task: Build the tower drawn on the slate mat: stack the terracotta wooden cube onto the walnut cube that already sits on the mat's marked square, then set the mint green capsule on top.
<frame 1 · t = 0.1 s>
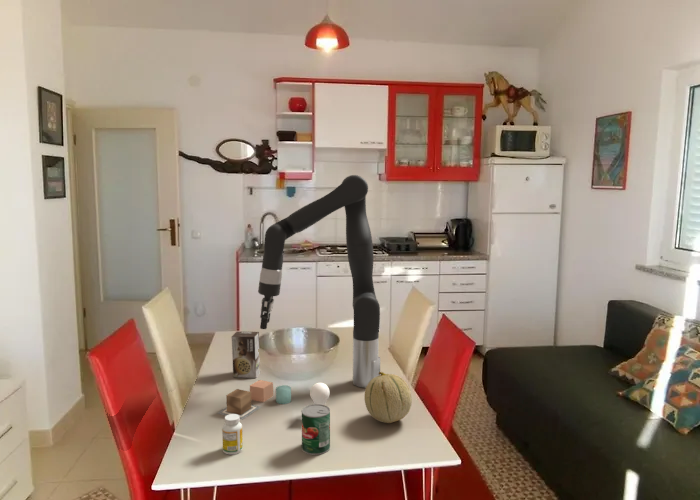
hand: (264, 325, 185), 22 cm above the table, tool pointing down, fingers open, 8 cm apart
lightbulb: (320, 417, 164), on the table
cantaloupe: (387, 420, 161), on the table
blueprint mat: (239, 411, 167), on the table
canned tomato: (316, 448, 145), on the table
supplement bottle: (232, 450, 144), on the table
mint green capsule: (283, 402, 174), on the table
walnut block: (239, 409, 167), point 1 cm above the table, touching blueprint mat
coffee box: (246, 375, 198), on the table
terracotta block: (261, 399, 177), on the table
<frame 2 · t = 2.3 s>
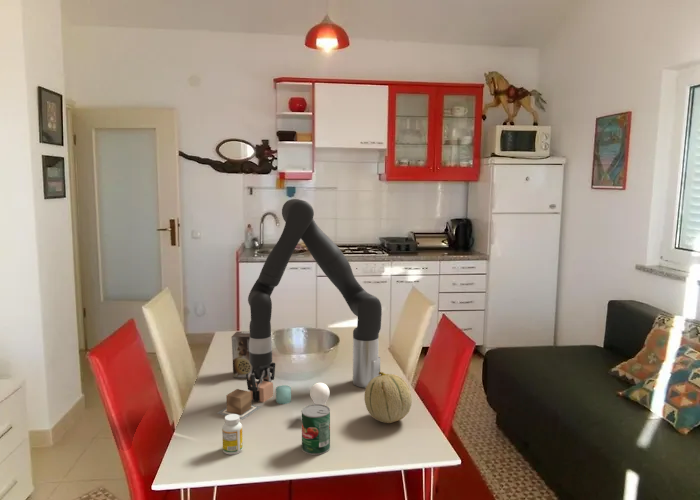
hand: (261, 397, 176), 1 cm above the table, tool pointing down, fingers closed on terracotta block, 5 cm apart
terracotta block: (261, 399, 176), on the table, touching gripper
everything else where it was.
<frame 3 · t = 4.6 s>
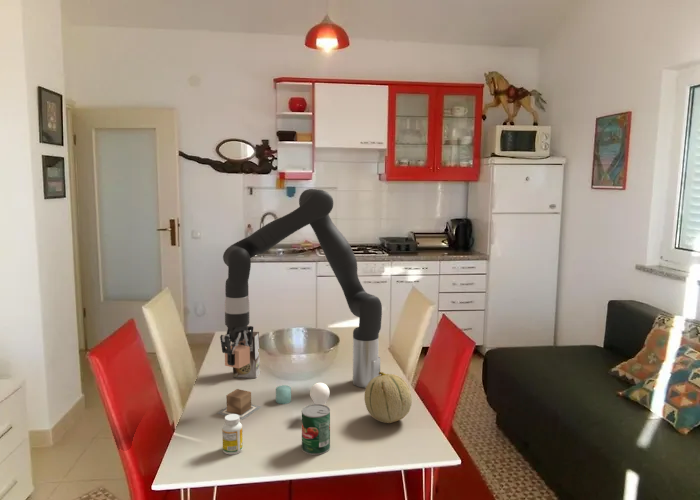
hand: (237, 361, 166), 16 cm above the table, tool pointing down, fingers closed on terracotta block, 5 cm apart
terracotta block: (237, 364, 166), point 16 cm above the table, touching gripper
everything else where it was.
when the fingers open (8 cm above the table, at t = 6.6 s): terracotta block stays where it is, resting on walnut block.
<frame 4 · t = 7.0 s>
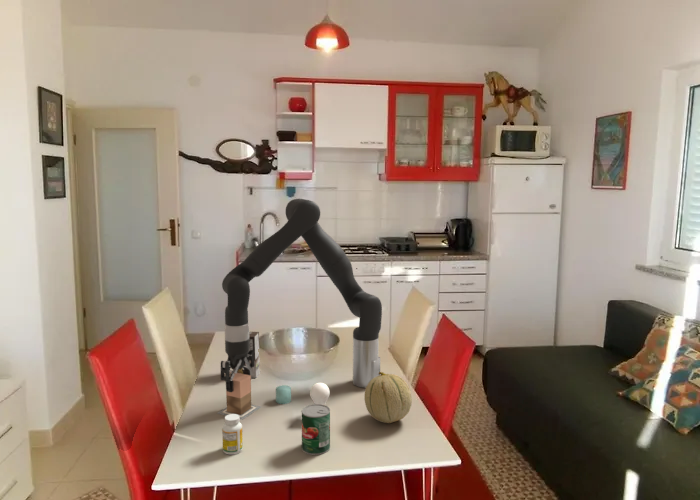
hand: (238, 386, 166), 8 cm above the table, tool pointing down, fingers open, 8 cm apart
walnut block: (239, 409, 167), point 1 cm above the table, touching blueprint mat, terracotta block
terracotta block: (238, 393, 166), point 6 cm above the table, touching walnut block
everything else where it was.
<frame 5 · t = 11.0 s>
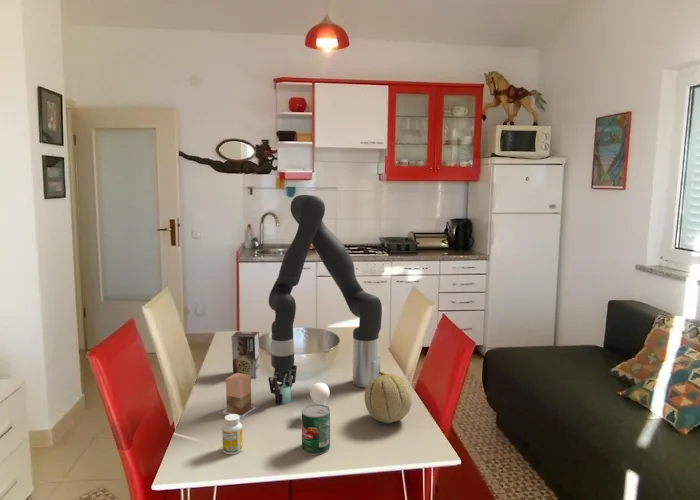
hand: (283, 400, 174), 1 cm above the table, tool pointing down, fingers closed on mint green capsule, 5 cm apart
mint green capsule: (283, 402, 174), on the table, touching gripper
everything else where it was.
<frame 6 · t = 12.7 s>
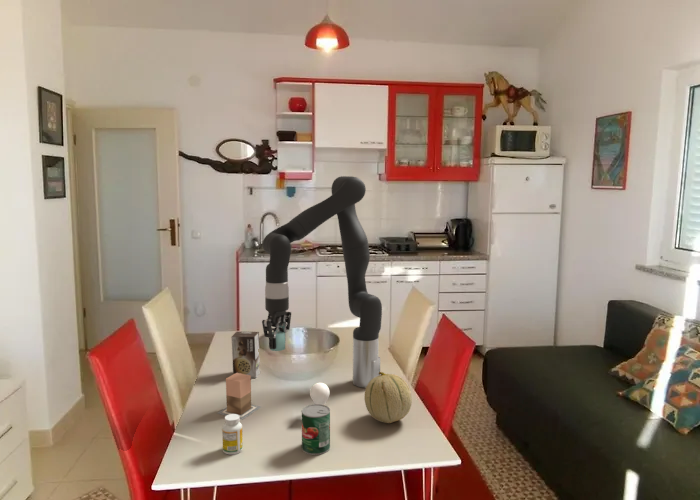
hand: (277, 346, 170), 20 cm above the table, tool pointing down, fingers closed on mint green capsule, 5 cm apart
mint green capsule: (277, 348, 171), point 19 cm above the table, touching gripper
everything else where it was.
when the fingers open (13 cm above the table, at t = 14.9 s): mint green capsule stays where it is, resting on terracotta block.
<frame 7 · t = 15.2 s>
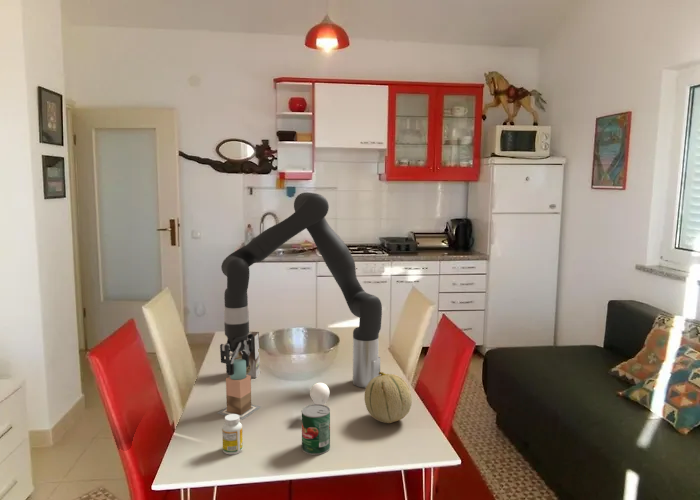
hand: (238, 370, 165), 14 cm above the table, tool pointing down, fingers open, 7 cm apart
mint green capsule: (238, 377, 165), point 12 cm above the table, touching terracotta block
terracotta block: (238, 393, 166), point 6 cm above the table, touching mint green capsule, walnut block
everything else where it was.
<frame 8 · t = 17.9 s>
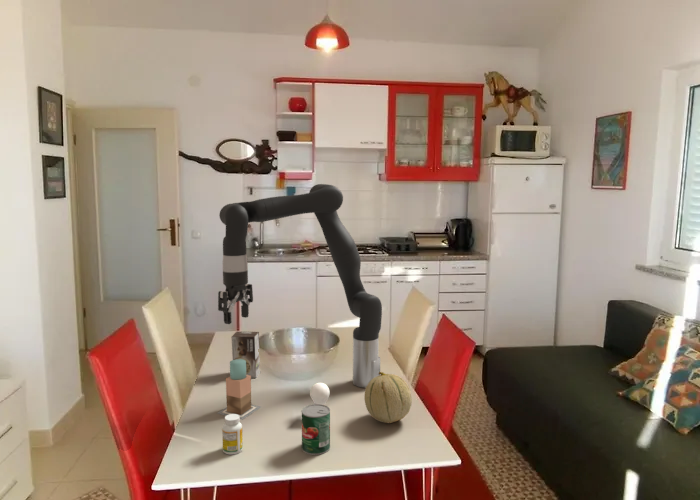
hand: (236, 320, 163), 30 cm above the table, tool pointing down, fingers open, 8 cm apart
nothing on the table moved.
at the end: terracotta block 0.1 cm off-centre on the walnut block, point 5.5 cm above the walnut block's base; mint green capsule 0.1 cm off-centre on the terracotta block, point 5.5 cm above the terracotta block's base; the gripper is holding nothing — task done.
